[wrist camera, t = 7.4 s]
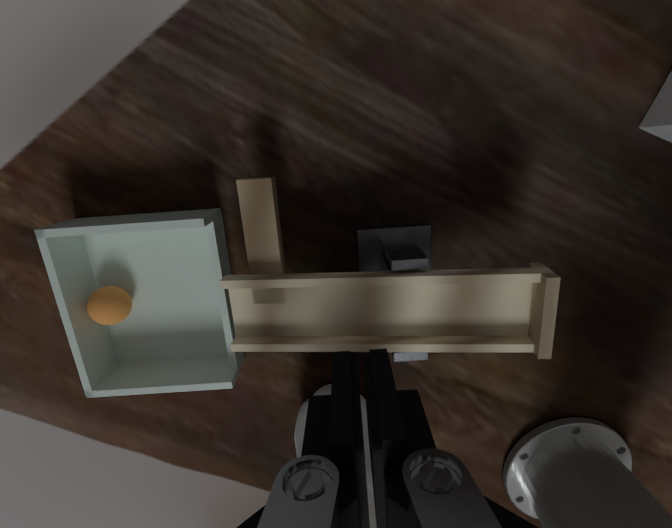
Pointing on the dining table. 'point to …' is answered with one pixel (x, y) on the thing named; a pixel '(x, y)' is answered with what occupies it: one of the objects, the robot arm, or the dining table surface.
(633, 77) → the dining table surface
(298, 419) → the water bottle
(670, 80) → the milk
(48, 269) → the tray
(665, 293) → the dining table surface
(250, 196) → the lever
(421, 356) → the fulcrum
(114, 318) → the ball
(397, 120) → the dining table surface
